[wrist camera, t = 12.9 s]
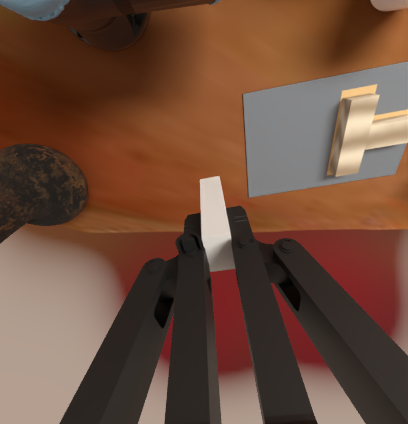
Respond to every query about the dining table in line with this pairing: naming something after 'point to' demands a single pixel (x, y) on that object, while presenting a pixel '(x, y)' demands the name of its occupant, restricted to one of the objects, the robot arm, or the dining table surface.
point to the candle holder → (390, 4)
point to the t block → (363, 133)
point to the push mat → (316, 129)
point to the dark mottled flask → (38, 188)
